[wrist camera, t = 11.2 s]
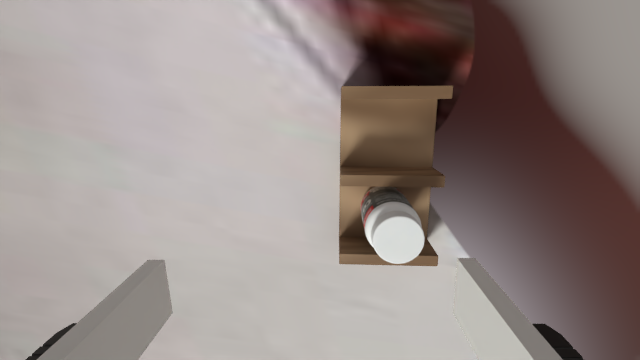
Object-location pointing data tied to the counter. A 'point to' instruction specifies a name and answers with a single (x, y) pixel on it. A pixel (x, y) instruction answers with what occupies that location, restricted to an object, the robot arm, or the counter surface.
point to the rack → (386, 159)
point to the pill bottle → (391, 225)
